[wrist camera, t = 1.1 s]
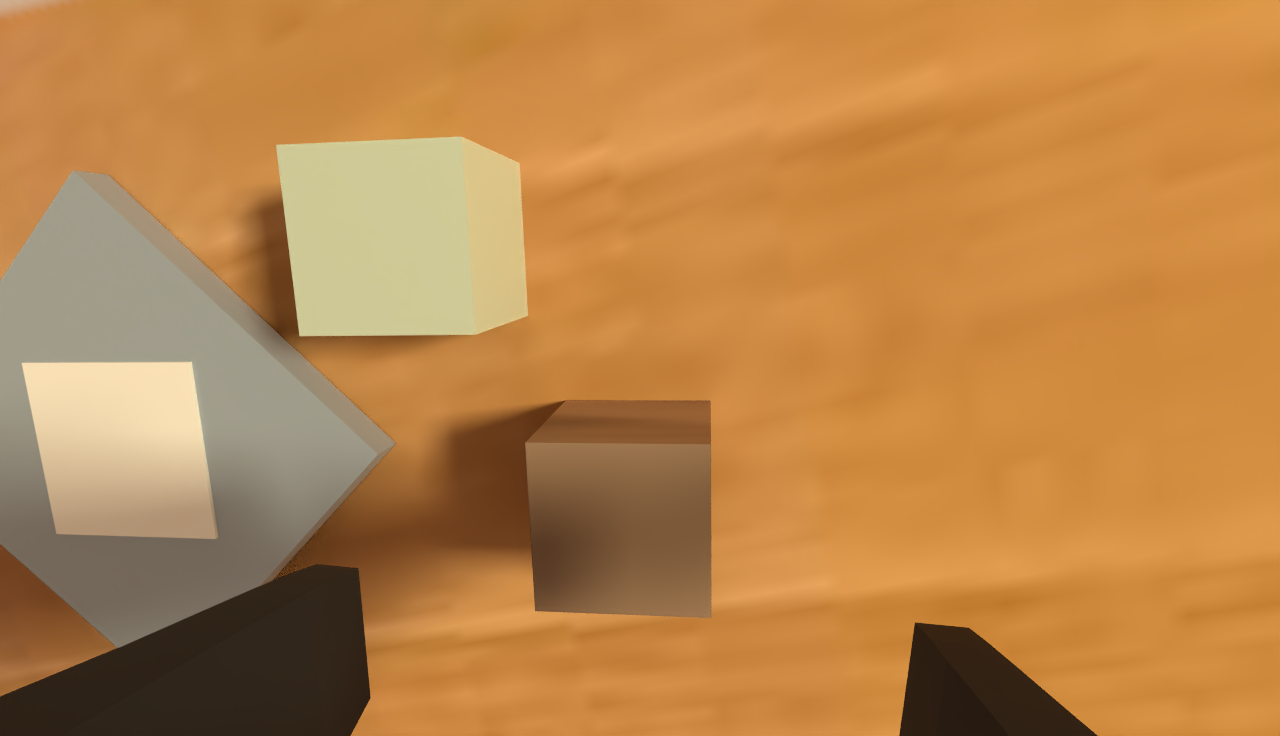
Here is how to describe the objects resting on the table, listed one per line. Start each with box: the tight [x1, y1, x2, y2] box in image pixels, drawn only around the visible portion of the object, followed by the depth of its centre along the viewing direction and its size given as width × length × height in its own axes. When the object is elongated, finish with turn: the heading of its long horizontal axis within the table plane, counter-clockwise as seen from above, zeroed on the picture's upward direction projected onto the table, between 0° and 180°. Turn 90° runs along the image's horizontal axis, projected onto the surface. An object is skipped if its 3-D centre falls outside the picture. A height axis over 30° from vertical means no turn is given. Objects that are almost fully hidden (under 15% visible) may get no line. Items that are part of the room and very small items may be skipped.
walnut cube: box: [525, 400, 711, 618], centre depth 16 cm, size 4×4×4 cm
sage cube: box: [276, 137, 528, 336], centre depth 15 cm, size 4×4×4 cm
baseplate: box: [0, 170, 396, 648], centre depth 19 cm, size 11×11×1 cm
